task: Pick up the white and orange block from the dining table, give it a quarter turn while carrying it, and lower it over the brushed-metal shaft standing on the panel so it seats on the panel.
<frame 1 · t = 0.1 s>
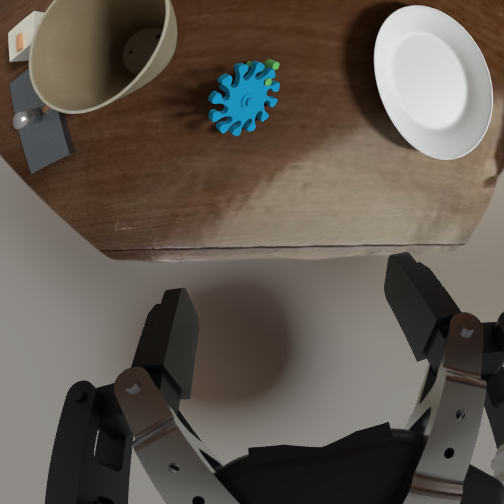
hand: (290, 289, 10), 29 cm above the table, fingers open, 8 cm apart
bowl: (431, 80, 28), on the table
gear: (247, 95, 31), on the table
plant pot: (147, 52, 27), on the table
white and orange block: (44, 37, 21), on the table
panel: (40, 114, 29), on the table
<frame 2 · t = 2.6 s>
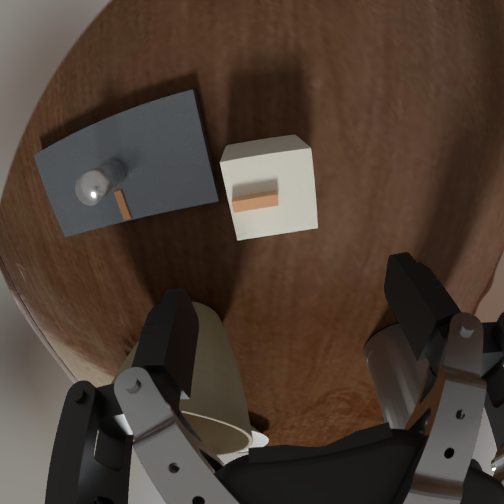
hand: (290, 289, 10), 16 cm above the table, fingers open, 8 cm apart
bowl: (217, 428, 57), on the table
plant pot: (192, 319, 34), on the table
white and orange block: (266, 171, 24), on the table
panel: (118, 167, 23), on the table
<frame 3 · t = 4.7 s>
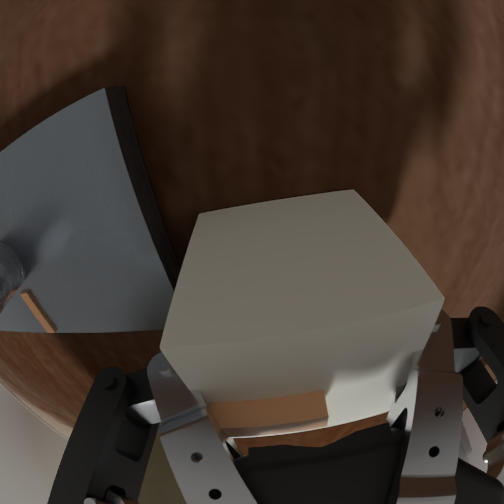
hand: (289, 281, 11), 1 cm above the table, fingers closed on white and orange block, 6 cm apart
plant pot: (175, 419, 22), on the table
white and orange block: (286, 264, 12), on the table, touching gripper
panel: (23, 248, 11), on the table
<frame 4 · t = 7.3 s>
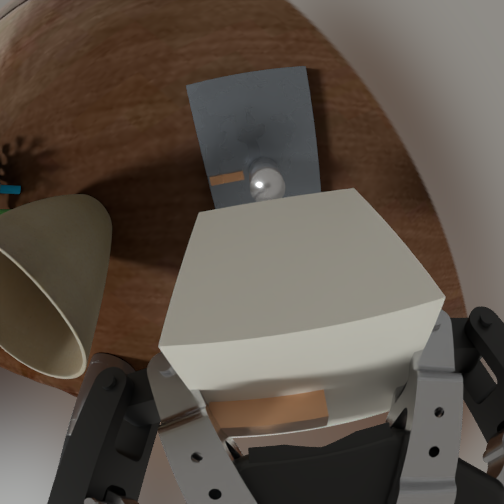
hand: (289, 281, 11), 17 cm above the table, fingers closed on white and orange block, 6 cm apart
gear: (7, 180, 23), on the table
plant pot: (87, 221, 27), on the table
white and orange block: (286, 263, 12), point 16 cm above the table, touching gripper
panel: (262, 167, 25), on the table
when the fingers open (4 cm above the table, at t = 10.1 s): white and orange block drops 1 cm, resting on panel.
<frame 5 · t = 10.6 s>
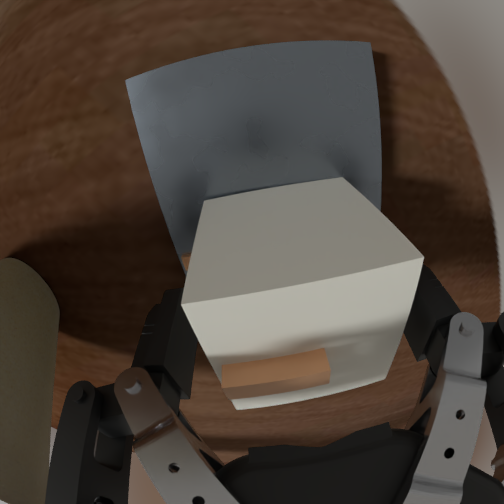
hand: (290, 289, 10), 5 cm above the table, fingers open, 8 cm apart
plant pot: (29, 291, 17), on the table
white and orange block: (283, 247, 13), point 2 cm above the table, touching panel
panel: (278, 231, 14), on the table
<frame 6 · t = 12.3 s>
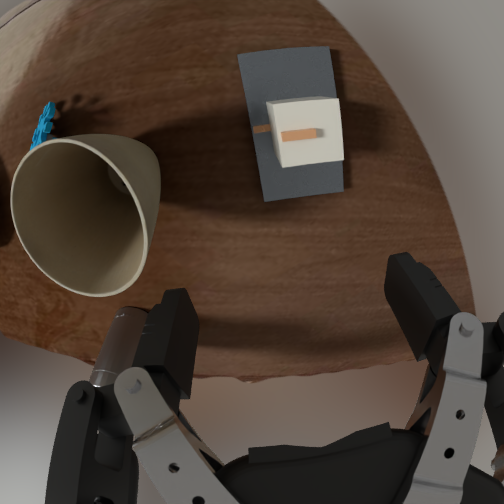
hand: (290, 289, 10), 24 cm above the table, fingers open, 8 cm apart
gear: (55, 134, 28), on the table
plant pot: (135, 167, 32), on the table
white and orange block: (297, 123, 27), point 2 cm above the table, touching panel
panel: (294, 122, 29), on the table
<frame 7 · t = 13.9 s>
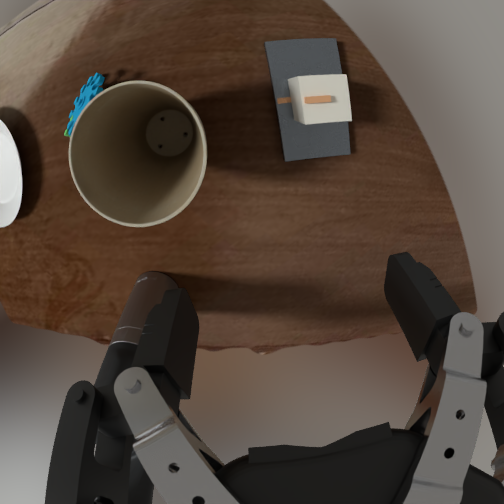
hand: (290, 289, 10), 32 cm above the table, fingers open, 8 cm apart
gear: (95, 104, 32), on the table
plant pot: (171, 132, 36), on the table
white and orange block: (312, 97, 32), point 2 cm above the table, touching panel
panel: (309, 97, 34), on the table
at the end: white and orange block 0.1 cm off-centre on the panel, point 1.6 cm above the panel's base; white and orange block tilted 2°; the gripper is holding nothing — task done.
